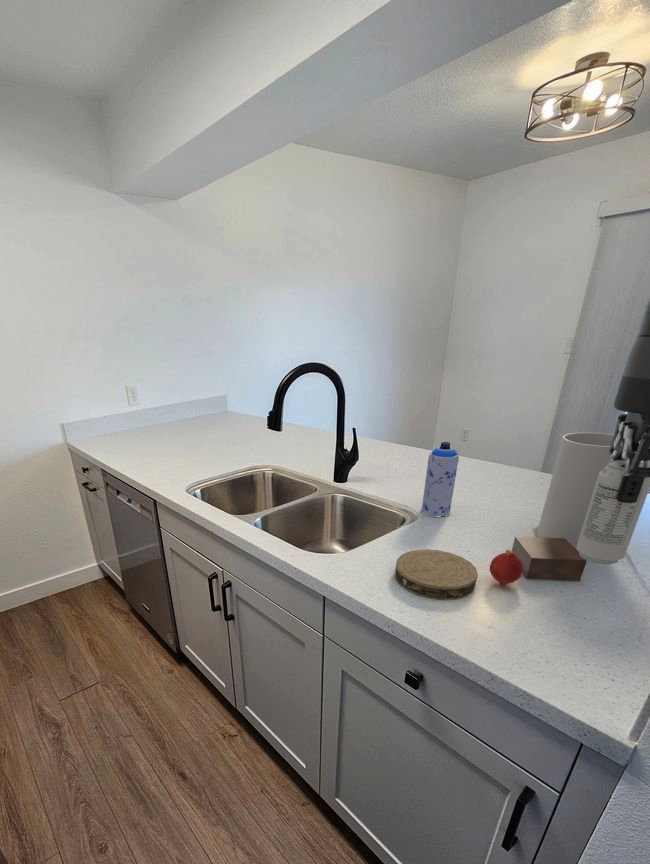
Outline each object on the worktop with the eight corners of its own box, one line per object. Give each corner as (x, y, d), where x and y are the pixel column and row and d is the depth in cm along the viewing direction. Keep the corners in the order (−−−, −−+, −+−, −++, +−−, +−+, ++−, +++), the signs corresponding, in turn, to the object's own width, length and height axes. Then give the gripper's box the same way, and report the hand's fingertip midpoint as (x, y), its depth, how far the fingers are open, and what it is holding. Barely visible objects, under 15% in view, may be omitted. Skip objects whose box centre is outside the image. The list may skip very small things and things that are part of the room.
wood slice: (430, 554, 103) (432, 543, 101) (492, 585, 90) (495, 572, 88) (379, 573, 96) (380, 561, 95) (437, 608, 84) (439, 596, 82)
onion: (505, 574, 93) (513, 541, 89) (525, 589, 88) (534, 554, 84) (480, 578, 92) (487, 545, 89) (499, 593, 87) (507, 558, 84)
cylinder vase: (583, 560, 96) (619, 450, 85) (525, 541, 106) (551, 439, 95) (608, 544, 102) (646, 439, 91) (551, 527, 112) (579, 429, 100)
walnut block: (558, 558, 98) (564, 538, 96) (579, 581, 89) (587, 560, 87) (510, 556, 100) (514, 536, 98) (526, 578, 91) (531, 558, 89)
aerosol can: (432, 504, 129) (441, 437, 120) (456, 512, 123) (468, 442, 114) (414, 511, 126) (423, 442, 117) (439, 519, 120) (450, 448, 111)
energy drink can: (629, 558, 68) (664, 464, 61) (611, 570, 65) (646, 474, 58) (585, 544, 72) (613, 456, 66) (567, 555, 70) (594, 464, 63)
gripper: (723, 379, 49) (668, 515, 57) (678, 366, 61) (637, 480, 68) (639, 380, 52) (597, 508, 60) (611, 367, 64) (579, 476, 71)
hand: (619, 493), depth 64 cm, fingers closed on energy drink can, 6 cm apart
